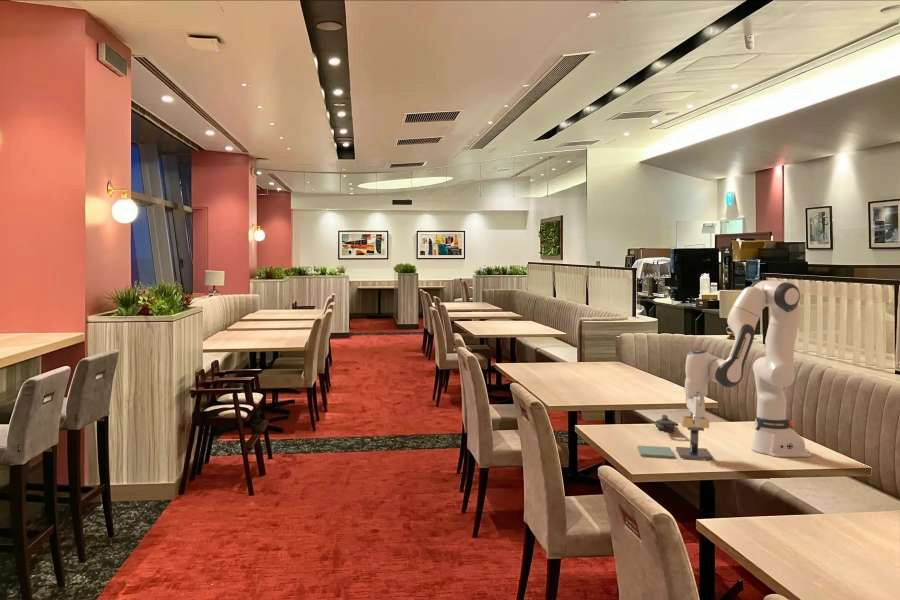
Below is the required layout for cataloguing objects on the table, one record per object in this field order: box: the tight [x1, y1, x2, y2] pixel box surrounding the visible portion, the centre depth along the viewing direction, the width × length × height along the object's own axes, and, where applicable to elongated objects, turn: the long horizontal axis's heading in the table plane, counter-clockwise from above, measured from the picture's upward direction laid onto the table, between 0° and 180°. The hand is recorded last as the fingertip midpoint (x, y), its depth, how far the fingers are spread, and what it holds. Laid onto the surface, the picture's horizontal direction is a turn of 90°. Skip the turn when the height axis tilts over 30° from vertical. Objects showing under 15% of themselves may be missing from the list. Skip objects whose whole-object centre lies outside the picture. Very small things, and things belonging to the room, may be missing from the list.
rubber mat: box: [637, 445, 676, 459], centre depth 280 cm, size 13×13×1 cm
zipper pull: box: [654, 414, 679, 433], centre depth 317 cm, size 9×7×25 cm
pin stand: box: [675, 415, 713, 461], centre depth 277 cm, size 12×12×16 cm
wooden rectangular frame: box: [680, 415, 710, 429], centre depth 277 cm, size 10×5×4 cm, turn 80°
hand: (694, 423), depth 277 cm, fingers open, 8 cm apart
